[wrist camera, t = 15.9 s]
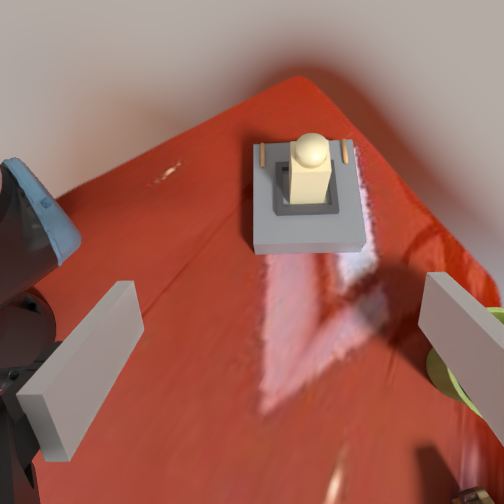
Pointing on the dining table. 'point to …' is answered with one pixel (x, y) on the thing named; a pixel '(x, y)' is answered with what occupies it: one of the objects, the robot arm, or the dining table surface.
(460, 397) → the plant pot
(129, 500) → the dining table surface
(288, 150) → the ball-topped post base
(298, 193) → the dome-topped cream pillar
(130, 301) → the robot arm
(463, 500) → the wooden carving
